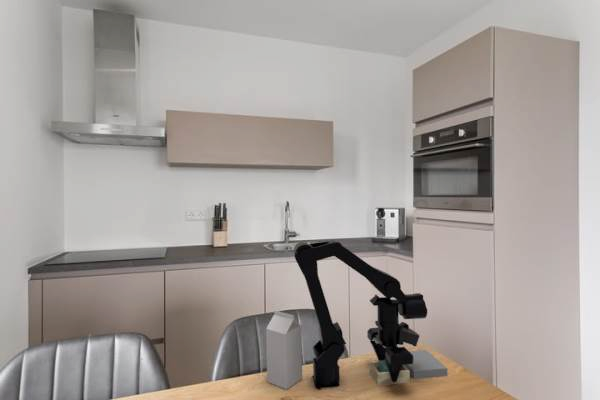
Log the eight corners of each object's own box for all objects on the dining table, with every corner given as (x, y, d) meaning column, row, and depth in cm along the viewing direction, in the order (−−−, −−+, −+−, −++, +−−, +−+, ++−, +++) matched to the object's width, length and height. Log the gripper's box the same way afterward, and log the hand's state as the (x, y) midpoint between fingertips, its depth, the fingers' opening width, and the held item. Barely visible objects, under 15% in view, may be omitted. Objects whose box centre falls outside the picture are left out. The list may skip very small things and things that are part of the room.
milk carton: (286, 390, 91) (285, 319, 91) (266, 382, 96) (265, 314, 96) (302, 379, 97) (301, 312, 97) (283, 371, 101) (282, 307, 101)
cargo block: (385, 381, 94) (384, 368, 94) (379, 373, 98) (379, 361, 98) (398, 379, 95) (398, 367, 95) (392, 372, 99) (392, 360, 99)
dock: (414, 380, 95) (413, 371, 95) (396, 360, 107) (395, 352, 107) (447, 377, 97) (447, 368, 97) (426, 357, 109) (425, 349, 109)
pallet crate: (378, 388, 92) (378, 373, 92) (369, 375, 99) (369, 361, 99) (409, 385, 94) (409, 371, 94) (398, 372, 100) (398, 359, 100)
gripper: (432, 330, 88) (433, 390, 88) (400, 307, 107) (401, 357, 107) (390, 333, 87) (391, 394, 87) (366, 309, 105) (367, 360, 105)
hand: (388, 375), depth 96 cm, fingers closed on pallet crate, 7 cm apart
